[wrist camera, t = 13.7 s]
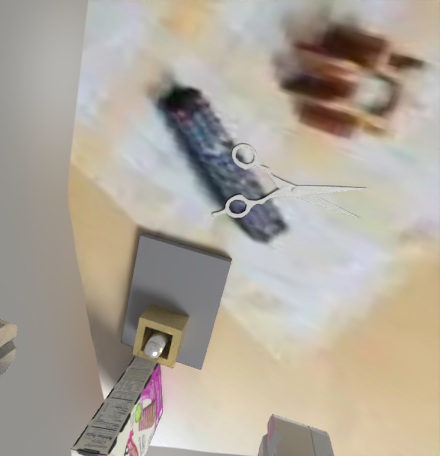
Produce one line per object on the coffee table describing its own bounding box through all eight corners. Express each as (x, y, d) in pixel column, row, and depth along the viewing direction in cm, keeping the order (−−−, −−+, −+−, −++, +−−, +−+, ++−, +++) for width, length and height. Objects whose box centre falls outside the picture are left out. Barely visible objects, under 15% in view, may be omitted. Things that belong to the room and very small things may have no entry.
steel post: (161, 318, 42) (142, 344, 35) (175, 323, 41) (159, 350, 35) (158, 331, 42) (139, 359, 36) (172, 336, 42) (156, 365, 36)
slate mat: (144, 233, 41) (140, 235, 39) (232, 259, 39) (230, 262, 38) (125, 337, 45) (120, 342, 44) (203, 363, 44) (201, 370, 43)
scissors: (222, 141, 36) (378, 162, 33) (223, 141, 37) (375, 162, 34) (212, 217, 38) (356, 242, 36) (213, 216, 39) (354, 241, 36)
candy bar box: (165, 412, 47) (115, 532, 32) (138, 408, 48) (77, 524, 32) (162, 357, 45) (107, 457, 29) (134, 354, 46) (66, 450, 30)
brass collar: (151, 303, 41) (139, 317, 38) (189, 316, 41) (182, 331, 37) (144, 337, 43) (132, 354, 39) (181, 350, 42) (173, 368, 38)
